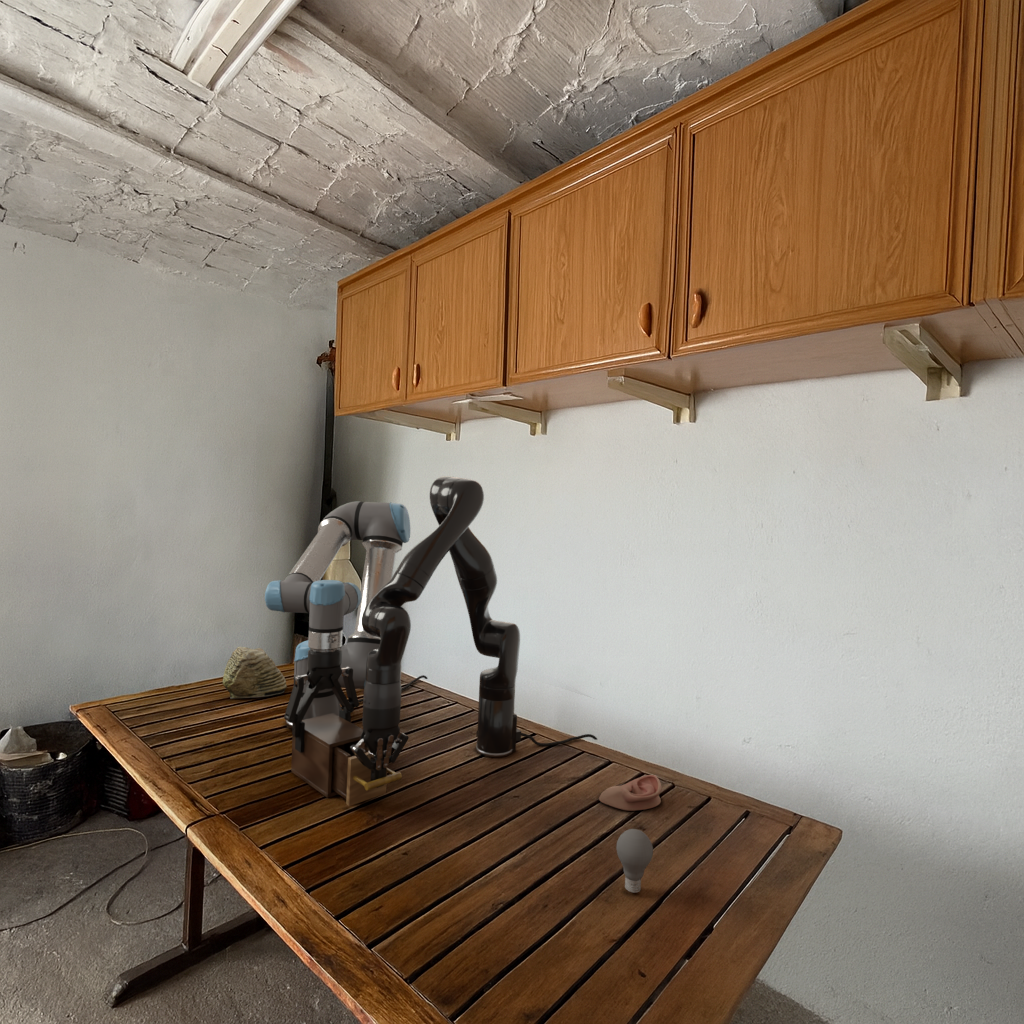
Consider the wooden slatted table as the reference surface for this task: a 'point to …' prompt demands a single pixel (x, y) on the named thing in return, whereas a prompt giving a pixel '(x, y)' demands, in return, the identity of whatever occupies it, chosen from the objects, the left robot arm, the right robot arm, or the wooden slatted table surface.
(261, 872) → the wooden slatted table surface
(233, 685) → the fossil
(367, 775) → the drawer
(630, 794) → the anatomical model
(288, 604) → the left robot arm
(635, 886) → the light bulb
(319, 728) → the cabinet
